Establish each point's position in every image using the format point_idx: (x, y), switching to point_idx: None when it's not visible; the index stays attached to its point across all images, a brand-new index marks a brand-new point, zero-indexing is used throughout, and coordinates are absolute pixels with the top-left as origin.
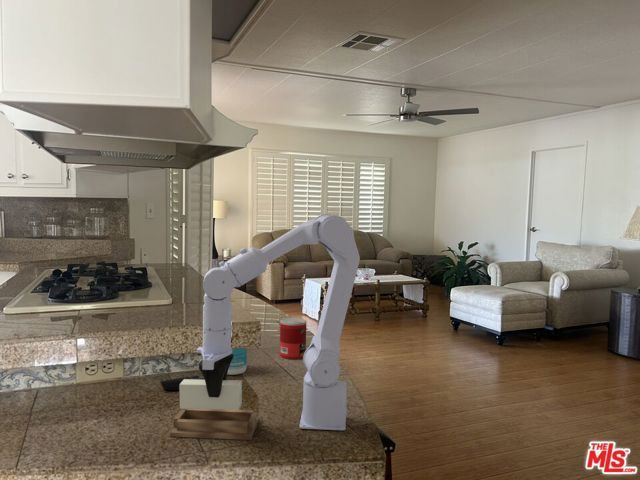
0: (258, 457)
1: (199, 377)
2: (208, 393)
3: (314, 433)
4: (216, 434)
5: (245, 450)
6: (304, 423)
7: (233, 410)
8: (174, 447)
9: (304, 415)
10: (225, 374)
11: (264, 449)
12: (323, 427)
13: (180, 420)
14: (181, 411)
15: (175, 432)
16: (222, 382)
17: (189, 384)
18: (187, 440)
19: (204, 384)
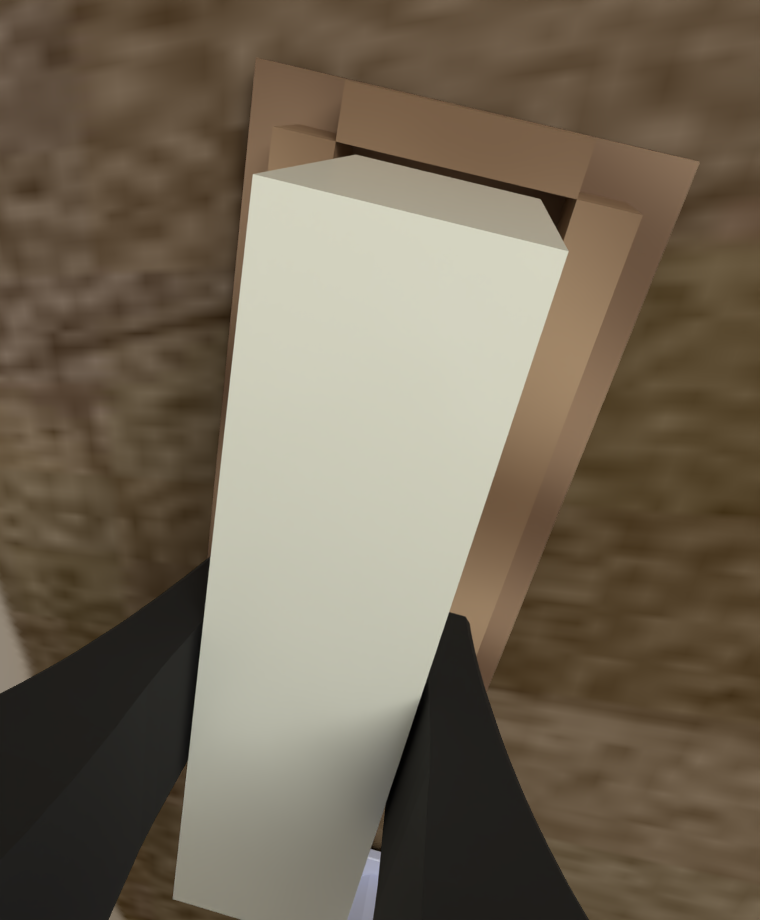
0: (26, 622)
1: None
2: (194, 572)
3: None
4: (219, 451)
5: (89, 578)
6: None
7: (469, 618)
8: (82, 131)
9: (370, 913)
10: (376, 907)
11: None
12: None
13: (297, 165)
14: (539, 152)
15: (252, 116)
16: (282, 791)
17: (234, 376)
18: (200, 231)
19: (226, 595)
